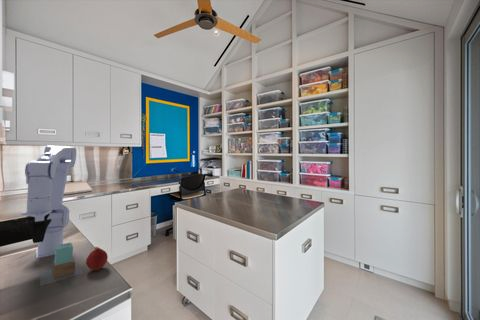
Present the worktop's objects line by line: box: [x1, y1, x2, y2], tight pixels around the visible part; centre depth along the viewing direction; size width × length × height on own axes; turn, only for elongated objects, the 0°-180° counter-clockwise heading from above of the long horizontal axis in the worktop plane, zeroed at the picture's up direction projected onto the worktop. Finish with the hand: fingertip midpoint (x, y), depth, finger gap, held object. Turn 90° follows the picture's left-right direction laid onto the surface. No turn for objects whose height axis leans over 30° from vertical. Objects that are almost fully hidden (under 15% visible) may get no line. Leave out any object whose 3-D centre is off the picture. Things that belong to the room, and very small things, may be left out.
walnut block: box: [52, 255, 76, 278], centre depth 66 cm, size 5×5×4 cm
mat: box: [38, 261, 85, 287], centre depth 66 cm, size 10×10×1 cm
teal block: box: [54, 242, 74, 266], centre depth 66 cm, size 4×4×5 cm
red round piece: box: [85, 246, 109, 272], centre depth 68 cm, size 6×6×8 cm
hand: (37, 239), depth 67 cm, fingers open, 7 cm apart
